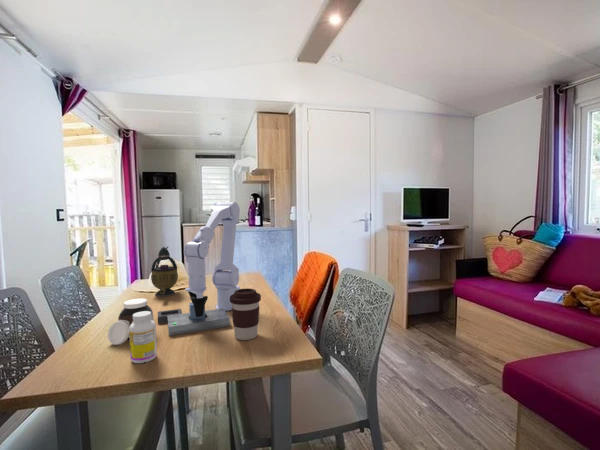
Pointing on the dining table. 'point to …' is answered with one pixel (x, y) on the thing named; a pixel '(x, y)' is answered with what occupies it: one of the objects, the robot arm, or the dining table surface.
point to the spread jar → (127, 320)
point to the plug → (192, 312)
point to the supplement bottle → (142, 338)
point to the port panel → (197, 322)
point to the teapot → (164, 274)
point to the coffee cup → (245, 313)
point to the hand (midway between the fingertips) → (198, 313)
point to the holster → (163, 315)
